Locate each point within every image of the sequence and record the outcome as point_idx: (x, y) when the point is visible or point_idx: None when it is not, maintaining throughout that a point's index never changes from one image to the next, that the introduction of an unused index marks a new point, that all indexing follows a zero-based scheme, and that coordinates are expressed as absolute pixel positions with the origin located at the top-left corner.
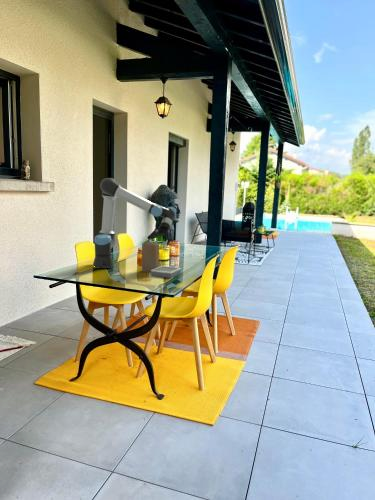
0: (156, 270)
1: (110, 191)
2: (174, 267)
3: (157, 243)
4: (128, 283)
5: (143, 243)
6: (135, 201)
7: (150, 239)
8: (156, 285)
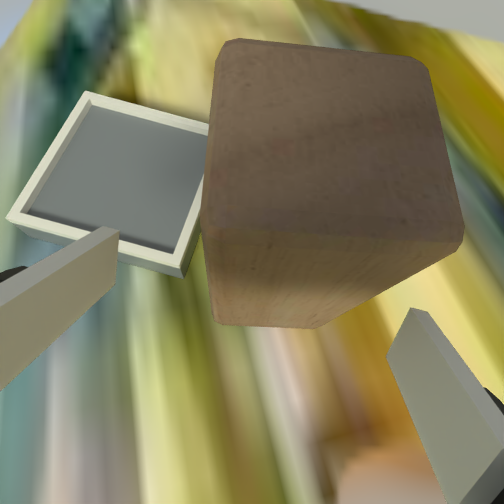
0: (190, 123)
1: None
2: (61, 227)
3: (212, 141)
4: (291, 22)
5: (415, 64)
6: None
7: (496, 431)
8: (159, 6)
